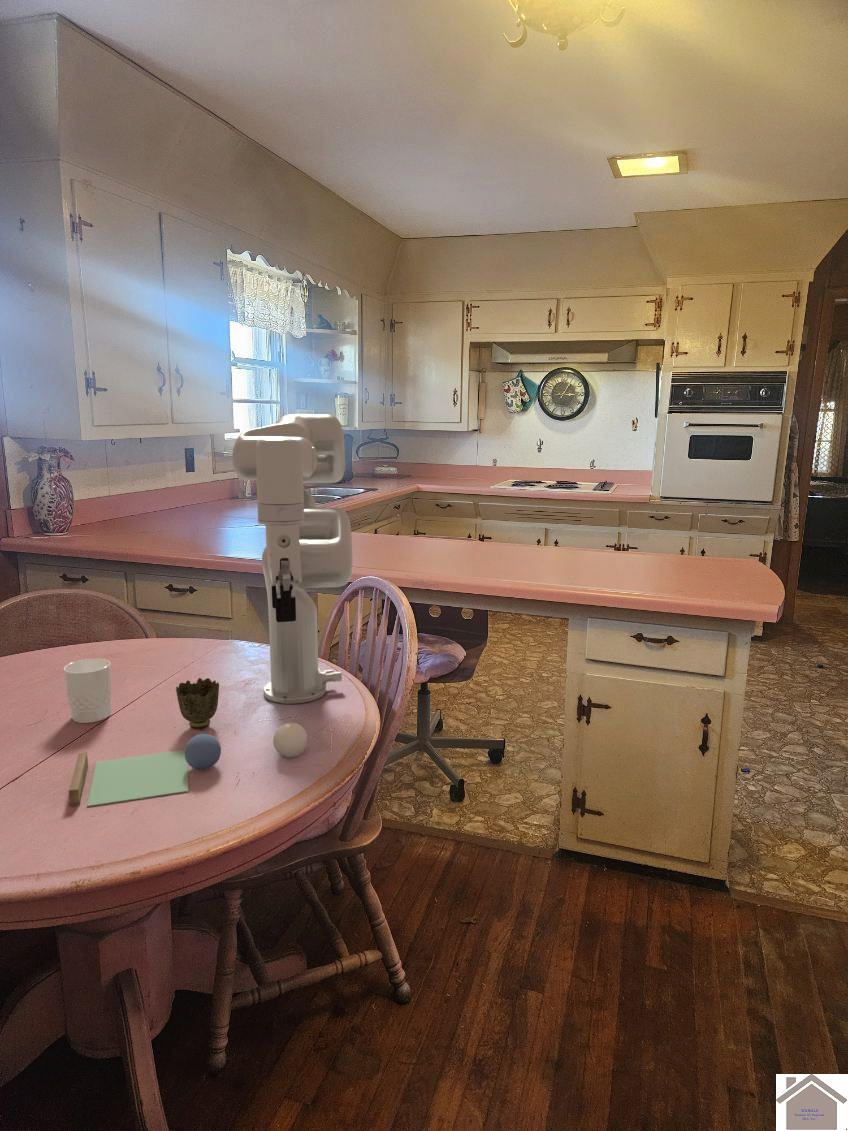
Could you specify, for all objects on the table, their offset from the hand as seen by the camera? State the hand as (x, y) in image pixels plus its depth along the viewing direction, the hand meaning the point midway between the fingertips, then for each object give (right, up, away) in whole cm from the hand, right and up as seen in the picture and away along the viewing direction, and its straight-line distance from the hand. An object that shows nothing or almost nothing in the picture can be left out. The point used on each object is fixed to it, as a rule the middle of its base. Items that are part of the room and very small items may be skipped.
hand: (283, 614), depth 123 cm
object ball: (-12, -22, -7) cm, 26 cm away
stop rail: (-29, -25, -12) cm, 40 cm away
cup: (-17, -21, +9) cm, 29 cm away
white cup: (-38, -20, +13) cm, 45 cm away
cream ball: (+2, -21, -2) cm, 21 cm away
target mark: (-21, -25, -9) cm, 34 cm away
